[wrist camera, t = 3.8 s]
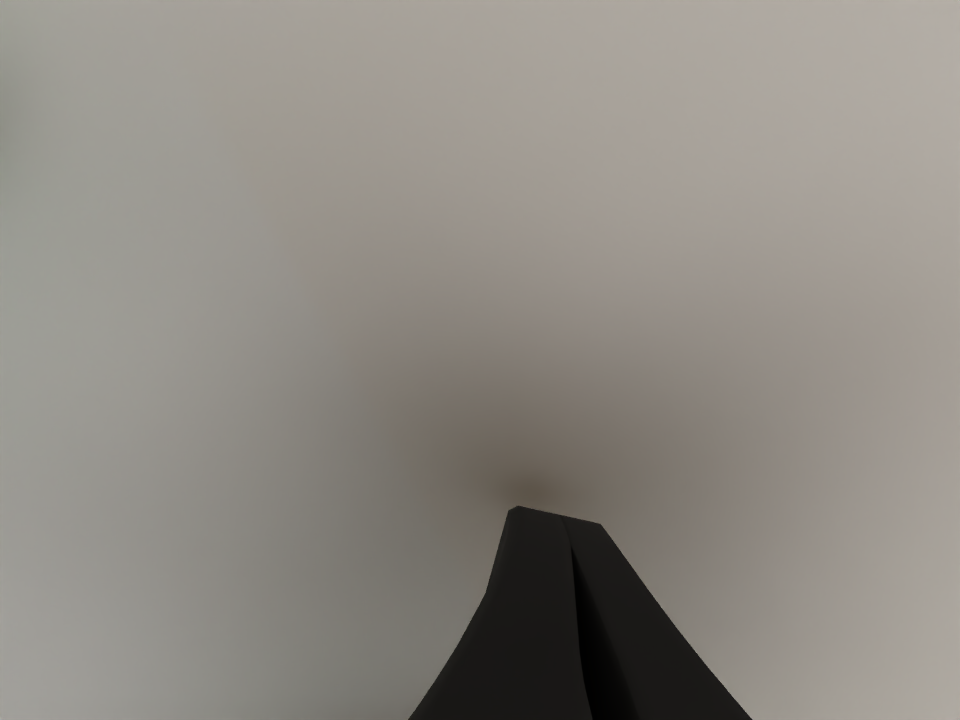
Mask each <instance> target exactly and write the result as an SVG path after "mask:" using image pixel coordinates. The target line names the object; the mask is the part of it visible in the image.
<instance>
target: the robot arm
mask: <svg viewBox="0 0 960 720" xmlns="http://www.w3.org/2000/svg"><path fill="white" fill-rule="evenodd" d="M408 720H752V719H751V718H750V716H749V715H748V714H747V713H746V712H745V711H744V710H743V708H742V707H741V706H740V705H739V704H738V702H737V701H736V700H735V699H734V698H733V697H732V695H731V694H730V693H729V692H728V691H727V689H726V688H725V687H724V686H723V685H722V683H721V682H720V681H719V680H718V679H717V678H716V676H715V675H714V674H713V673H712V672H711V670H710V669H709V668H708V667H707V666H706V664H705V663H704V662H703V661H702V659H701V658H700V657H699V656H698V654H697V653H696V652H695V651H694V649H693V648H692V647H691V646H690V644H689V643H688V642H687V641H686V639H685V638H684V637H683V635H682V634H681V633H680V632H679V630H678V629H677V628H676V626H675V625H674V624H673V622H672V621H671V620H670V618H669V617H668V616H667V614H666V613H665V612H664V611H663V609H662V608H661V607H660V605H659V604H658V602H657V601H656V600H655V598H654V597H653V596H652V594H651V593H650V592H649V590H648V589H647V587H646V586H645V585H644V583H643V582H642V581H641V579H640V578H639V576H638V575H637V574H636V572H635V571H634V569H633V568H632V567H631V565H630V564H629V562H628V561H627V560H626V558H625V557H624V555H623V554H622V553H621V551H620V550H619V548H618V547H617V546H616V544H615V543H614V541H613V540H612V539H611V537H610V536H609V535H608V533H607V532H606V531H605V529H604V528H603V527H602V525H601V524H598V523H594V522H589V521H585V520H580V519H576V518H571V517H567V516H562V515H558V514H553V513H549V512H544V511H540V510H535V509H531V508H527V507H522V506H516V507H514V508H513V509H511V510H509V511H508V514H507V518H506V521H505V525H504V528H503V532H502V536H501V539H500V543H499V546H498V550H497V554H496V557H495V561H494V564H493V568H492V572H491V575H490V579H489V582H488V586H487V590H486V593H485V595H484V597H483V599H482V601H481V603H480V605H479V607H478V609H477V610H476V612H475V614H474V616H473V618H472V620H471V621H470V623H469V625H468V627H467V629H466V630H465V632H464V634H463V636H462V638H461V640H460V641H459V643H458V645H457V647H456V648H455V650H454V652H453V653H452V655H451V656H450V658H449V660H448V661H447V663H446V665H445V666H444V668H443V669H442V671H441V672H440V674H439V675H438V677H437V679H436V680H435V682H434V683H433V685H432V686H431V688H430V689H429V690H428V692H427V693H426V695H425V696H424V698H423V699H422V701H421V702H420V704H419V705H418V707H417V708H416V710H415V711H414V712H413V714H412V715H411V716H410V718H409V719H408Z"/></svg>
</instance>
